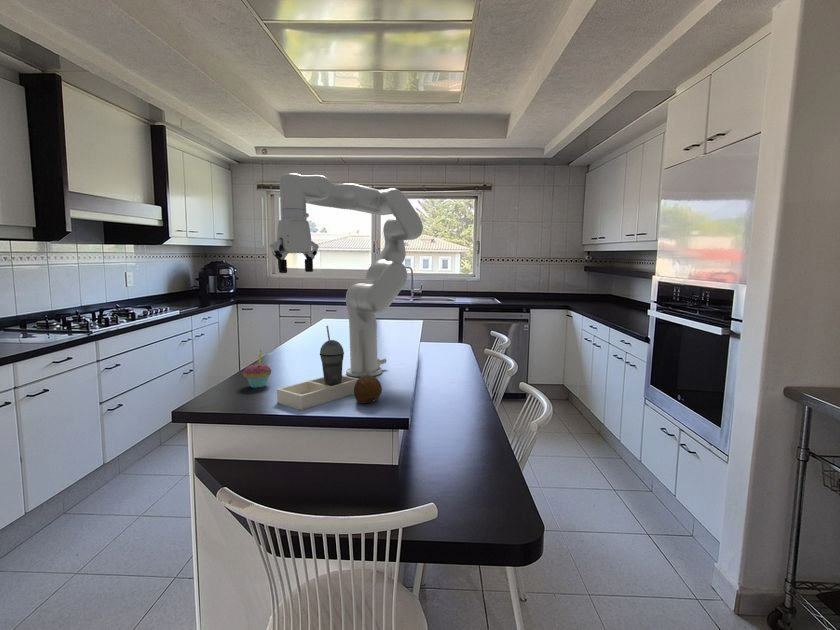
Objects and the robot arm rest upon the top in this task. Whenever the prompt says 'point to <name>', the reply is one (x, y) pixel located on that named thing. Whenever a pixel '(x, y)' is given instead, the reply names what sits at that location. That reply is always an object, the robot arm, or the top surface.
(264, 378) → the cupcake
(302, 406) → the cup carrier
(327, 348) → the beverage cup
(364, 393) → the potato
